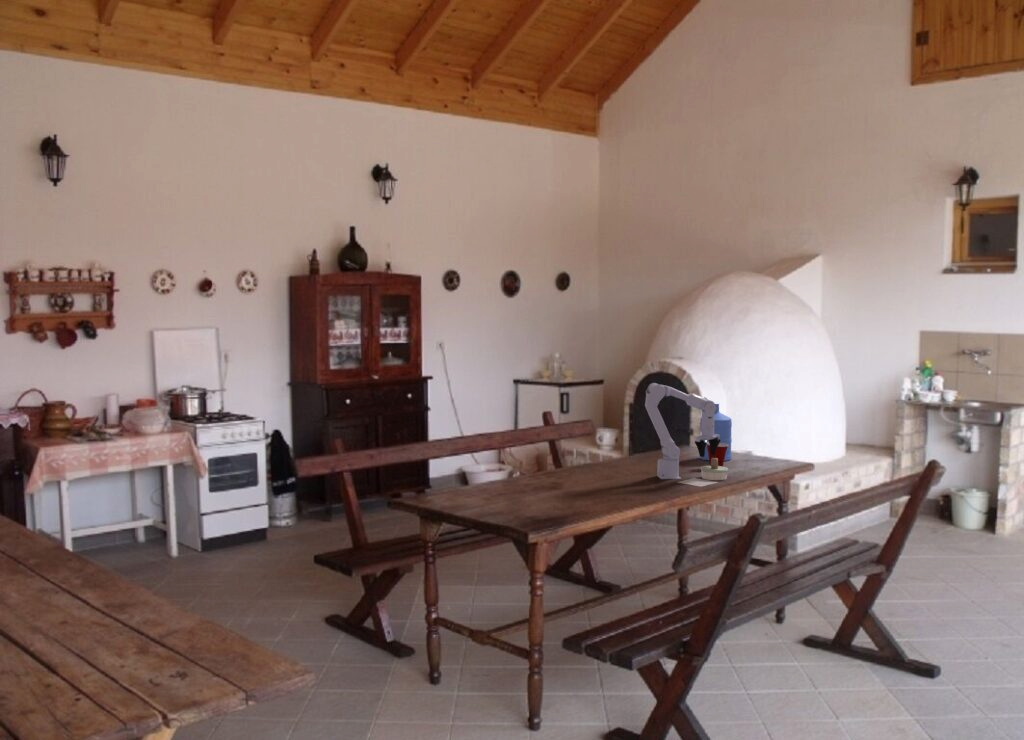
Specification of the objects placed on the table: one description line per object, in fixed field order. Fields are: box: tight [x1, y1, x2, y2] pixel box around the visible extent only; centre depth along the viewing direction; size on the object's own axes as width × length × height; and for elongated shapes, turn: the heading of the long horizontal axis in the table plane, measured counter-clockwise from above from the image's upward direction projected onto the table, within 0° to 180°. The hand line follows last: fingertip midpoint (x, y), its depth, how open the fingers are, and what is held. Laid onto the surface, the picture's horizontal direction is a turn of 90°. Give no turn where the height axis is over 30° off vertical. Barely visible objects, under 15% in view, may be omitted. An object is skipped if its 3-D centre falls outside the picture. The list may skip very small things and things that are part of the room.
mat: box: [676, 477, 719, 488], centre depth 410 cm, size 13×13×1 cm
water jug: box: [699, 403, 733, 462], centre depth 468 cm, size 16×16×28 cm
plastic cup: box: [706, 441, 729, 467], centre depth 445 cm, size 11×11×12 cm
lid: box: [700, 458, 729, 473], centre depth 419 cm, size 12×12×6 cm
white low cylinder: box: [700, 470, 728, 481], centre depth 419 cm, size 11×11×4 cm
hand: (707, 455), depth 423 cm, fingers open, 7 cm apart
